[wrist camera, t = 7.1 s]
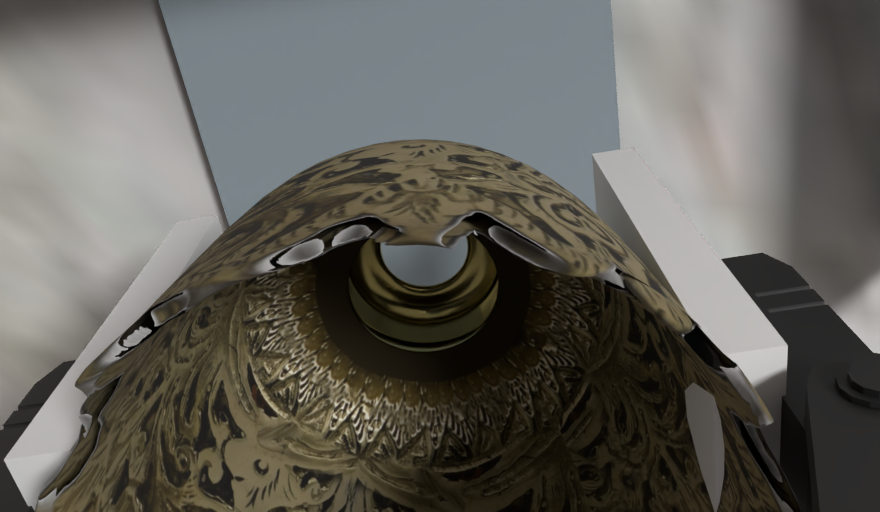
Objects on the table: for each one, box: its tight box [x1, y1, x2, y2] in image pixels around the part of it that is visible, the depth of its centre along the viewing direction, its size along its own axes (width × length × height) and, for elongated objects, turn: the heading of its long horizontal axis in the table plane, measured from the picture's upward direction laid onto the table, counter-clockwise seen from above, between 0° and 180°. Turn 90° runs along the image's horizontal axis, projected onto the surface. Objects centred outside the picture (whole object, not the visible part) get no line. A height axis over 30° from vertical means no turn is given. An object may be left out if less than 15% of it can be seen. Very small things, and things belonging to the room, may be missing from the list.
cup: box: [35, 139, 801, 512], centre depth 11 cm, size 8×7×8 cm
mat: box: [158, 0, 620, 286], centre depth 19 cm, size 10×10×1 cm
